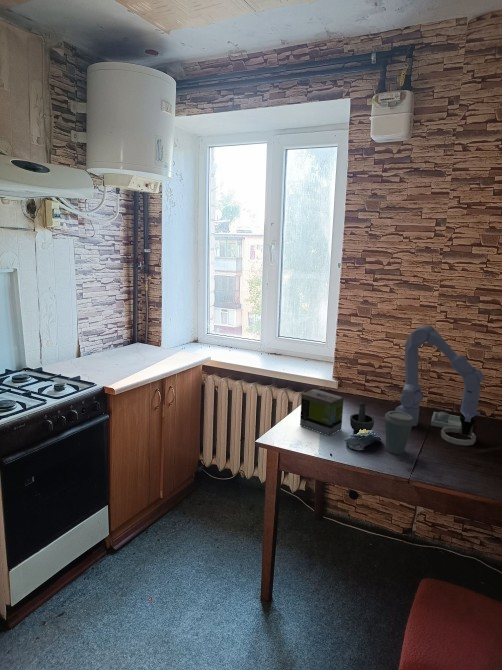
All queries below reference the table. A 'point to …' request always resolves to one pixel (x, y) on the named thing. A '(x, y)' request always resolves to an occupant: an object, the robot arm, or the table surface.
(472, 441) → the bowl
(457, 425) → the parts tray
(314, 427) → the small aquarium
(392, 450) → the disposable coffee cup
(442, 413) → the pebble
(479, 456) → the table surface
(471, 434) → the pebble
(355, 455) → the table surface
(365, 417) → the mortar and pestle
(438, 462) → the table surface
